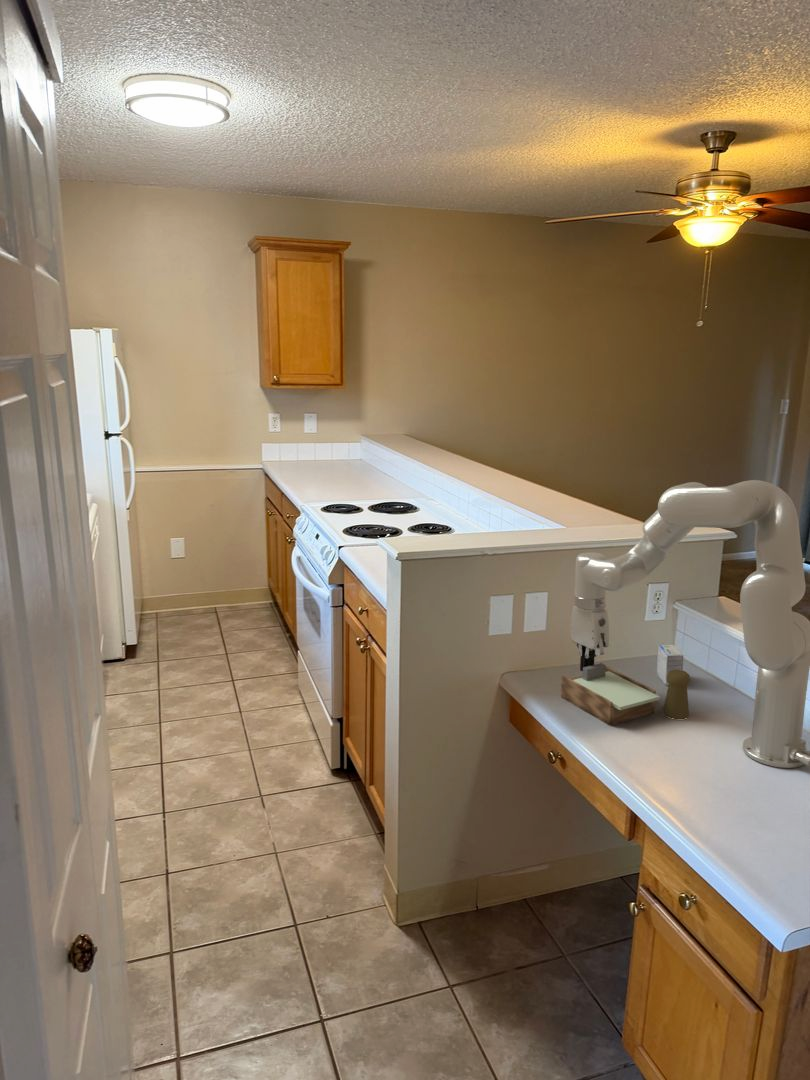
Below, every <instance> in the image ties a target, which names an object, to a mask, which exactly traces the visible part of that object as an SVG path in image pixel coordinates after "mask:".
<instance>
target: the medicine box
mask: <svg viewBox="0 0 810 1080" xmlns="http://www.w3.org/2000/svg"><path fill="white" fill-rule="evenodd" d="M656 659H657V661H656V675H657V676H658V677H659V679H660V680H661V681H662V682H663V684H664V685H665V686H669V683H668V682H667V675H668V673H669V672H670V671H672V670H682V671H684V654H683V653H682V652H681V651H680V650H679V649H678V648H677V647H676V646H675V644H659V645H658V646H657V658H656Z"/></svg>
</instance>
